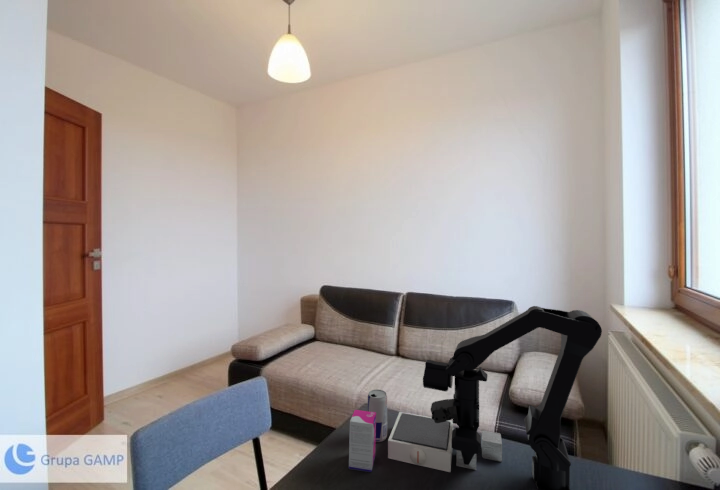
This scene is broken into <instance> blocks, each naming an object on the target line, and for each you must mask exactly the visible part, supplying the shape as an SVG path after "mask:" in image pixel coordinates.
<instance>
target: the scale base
mask: <svg viewBox="0 0 720 490" xmlns="http://www.w3.org/2000/svg"><path fill="white" fill-rule="evenodd" d="M402 413H405V414H410V415H416V416H422V417H427V418H432V416H426V415H420V414H414V413H409V412H403V411H399V412H398V415H397V417H396V419H395V421H394V425H393V428H392V430H391V432H390V435H389V437H388V439H387V459H391V460H395V461H398V462H404V463H407V464H412V465H416V466H421V467H424V468H430V469H435V470H439V471H444V472H448V473H451V471H452V459H453V448H452V431H453V430H454V423H453V420H448V421H449V433H448V442H447V451H446V450H441V449H436V448H431V447H427V446H422V445H417V444H412V443H407V442H402V441H397V440H393V436H394V434H395V431H396V428H397V426H398V423H399V421H400V418H401V415H402Z"/></svg>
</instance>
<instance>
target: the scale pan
mask: <svg viewBox="0 0 720 490" xmlns="http://www.w3.org/2000/svg"><path fill="white" fill-rule="evenodd" d="M405 413H406V412H404V413H402V415H401V418H400V421H399V423H398V426H397V428H396V431H395V434H394V436H393V440H397V441H402V442H407V443H412V444H417V445H422V446H427V447H431V448H436V449H441V450H446V451H447V442H448V433H449V421H446V422H441V423H435V421H434V420H433V419H432V418H427V417H428V416H427V417H422V416H423V415H421V416H416V415H417V414H416V415H410V414H411V413H410V414H405Z"/></svg>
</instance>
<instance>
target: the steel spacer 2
mask: <svg viewBox="0 0 720 490" xmlns="http://www.w3.org/2000/svg"><path fill="white" fill-rule="evenodd" d="M502 442H503V441H502V435H501V433H500V432H494V431H493V432H492V431H489V430H481V456H482V457H481V458H482V459H485V460H486V459H487V460H490V461H495V462H500V463H502V462H503V443H502Z"/></svg>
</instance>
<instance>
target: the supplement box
mask: <svg viewBox="0 0 720 490" xmlns="http://www.w3.org/2000/svg"><path fill="white" fill-rule="evenodd" d="M348 436H349V437H348V439H349V443H348V448H349V449H348V451H349V452H348V469H349V470H353V471H361V472H365V473H367V472H368V473H372V471H373V467H374V463H375V458H376V443H377V442H376V412H369V411H368V410H361V409H354V411H353V412H352V415H351V418H350V420H349V435H348Z"/></svg>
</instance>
